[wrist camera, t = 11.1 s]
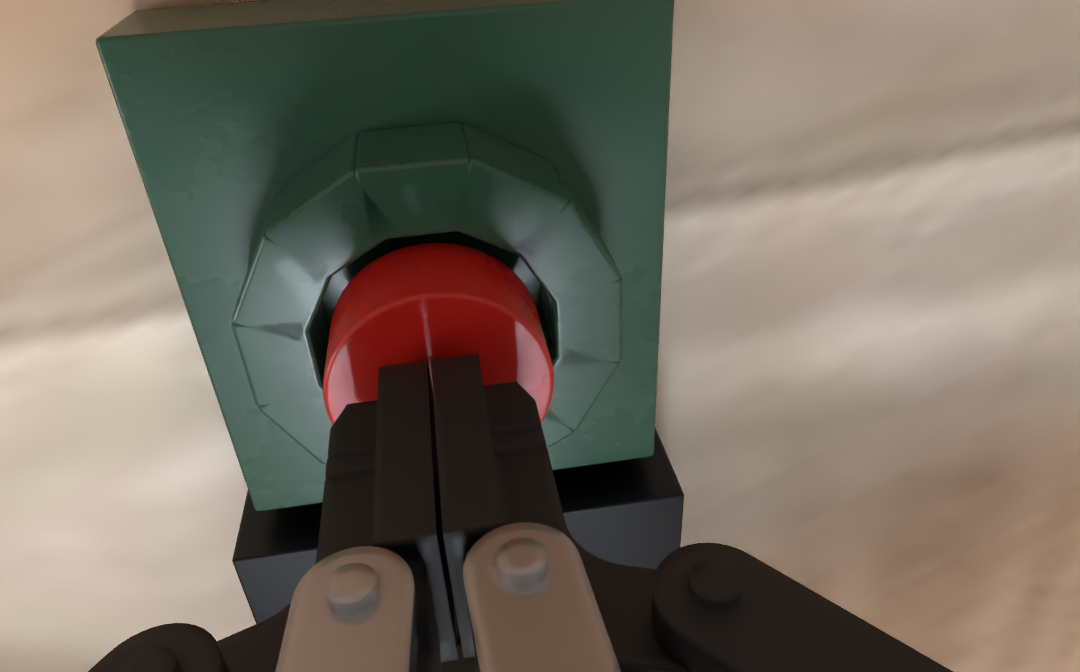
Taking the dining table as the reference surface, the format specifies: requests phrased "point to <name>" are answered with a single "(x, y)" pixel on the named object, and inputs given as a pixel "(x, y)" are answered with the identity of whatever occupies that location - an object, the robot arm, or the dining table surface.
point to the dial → (460, 663)
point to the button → (435, 323)
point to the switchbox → (404, 191)
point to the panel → (586, 499)
